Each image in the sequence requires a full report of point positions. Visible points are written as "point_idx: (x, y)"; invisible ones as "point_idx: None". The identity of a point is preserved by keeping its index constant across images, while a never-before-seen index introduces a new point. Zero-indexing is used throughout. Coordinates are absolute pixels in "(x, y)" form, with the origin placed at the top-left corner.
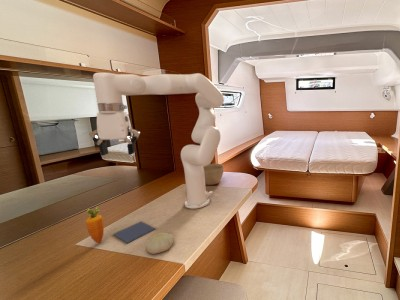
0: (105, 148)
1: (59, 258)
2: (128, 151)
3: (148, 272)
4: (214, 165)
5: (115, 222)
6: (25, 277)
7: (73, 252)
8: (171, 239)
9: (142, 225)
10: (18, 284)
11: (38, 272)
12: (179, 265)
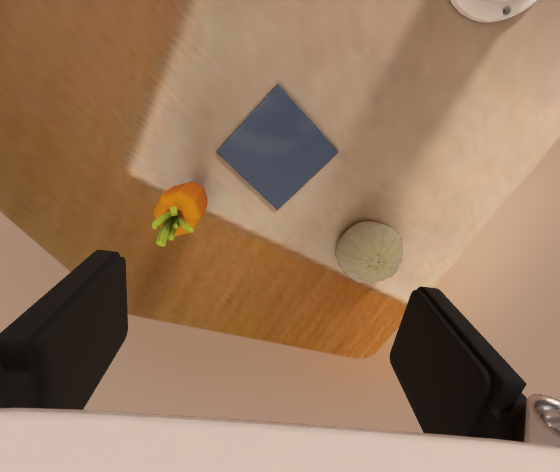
0: (89, 336)
1: (133, 229)
2: (404, 385)
3: (352, 315)
4: None
5: (179, 54)
6: None
7: (151, 213)
8: (401, 260)
9: (292, 119)
10: None
11: None
12: None
